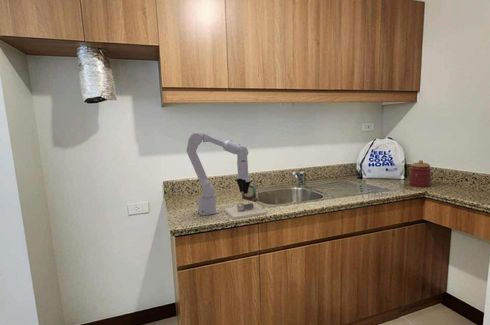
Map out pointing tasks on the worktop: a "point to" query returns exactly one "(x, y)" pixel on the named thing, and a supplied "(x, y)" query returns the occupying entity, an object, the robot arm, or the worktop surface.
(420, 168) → the canister
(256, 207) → the dial panel
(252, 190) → the food container
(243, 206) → the dial lever
